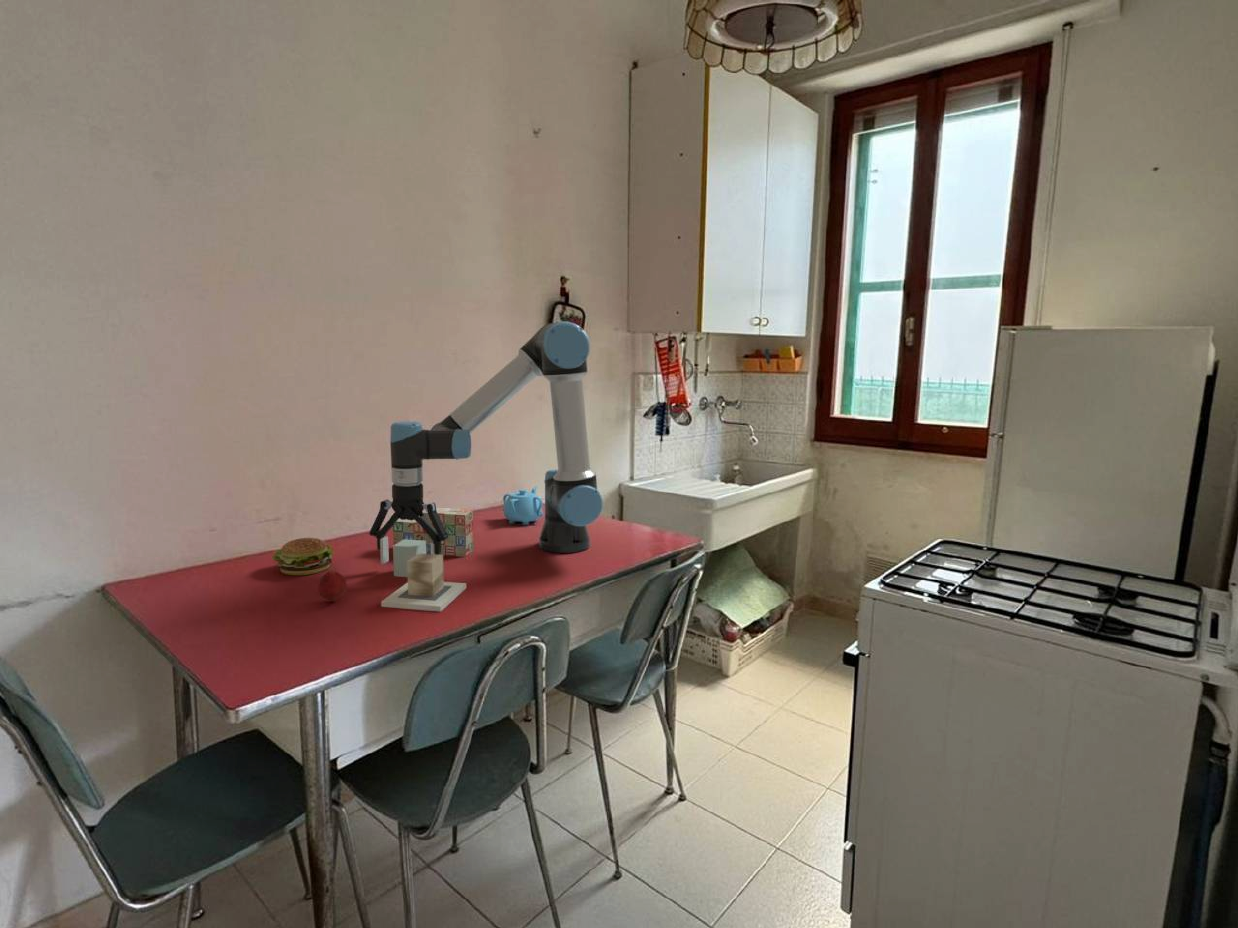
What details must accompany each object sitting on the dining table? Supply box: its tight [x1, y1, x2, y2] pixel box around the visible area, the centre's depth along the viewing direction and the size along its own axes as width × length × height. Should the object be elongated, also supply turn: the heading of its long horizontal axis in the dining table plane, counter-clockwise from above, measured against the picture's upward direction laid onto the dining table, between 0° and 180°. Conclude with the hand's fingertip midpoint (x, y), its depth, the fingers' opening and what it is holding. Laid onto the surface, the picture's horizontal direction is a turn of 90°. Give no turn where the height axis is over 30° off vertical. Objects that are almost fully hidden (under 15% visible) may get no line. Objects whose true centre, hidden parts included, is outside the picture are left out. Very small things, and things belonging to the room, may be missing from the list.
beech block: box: [407, 554, 445, 597], centre depth 156 cm, size 6×6×8 cm
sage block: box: [392, 539, 426, 578], centre depth 172 cm, size 6×6×8 cm
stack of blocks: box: [392, 507, 474, 558], centre depth 190 cm, size 21×6×12 cm, turn 83°
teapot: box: [502, 486, 544, 526], centre depth 225 cm, size 13×14×11 cm
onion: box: [317, 567, 347, 603], centre depth 152 cm, size 6×6×8 cm
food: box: [271, 537, 334, 576], centre depth 173 cm, size 14×14×8 cm
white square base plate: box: [380, 581, 467, 612], centre depth 156 cm, size 14×15×1 cm
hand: (409, 564), depth 172 cm, fingers open, 13 cm apart
